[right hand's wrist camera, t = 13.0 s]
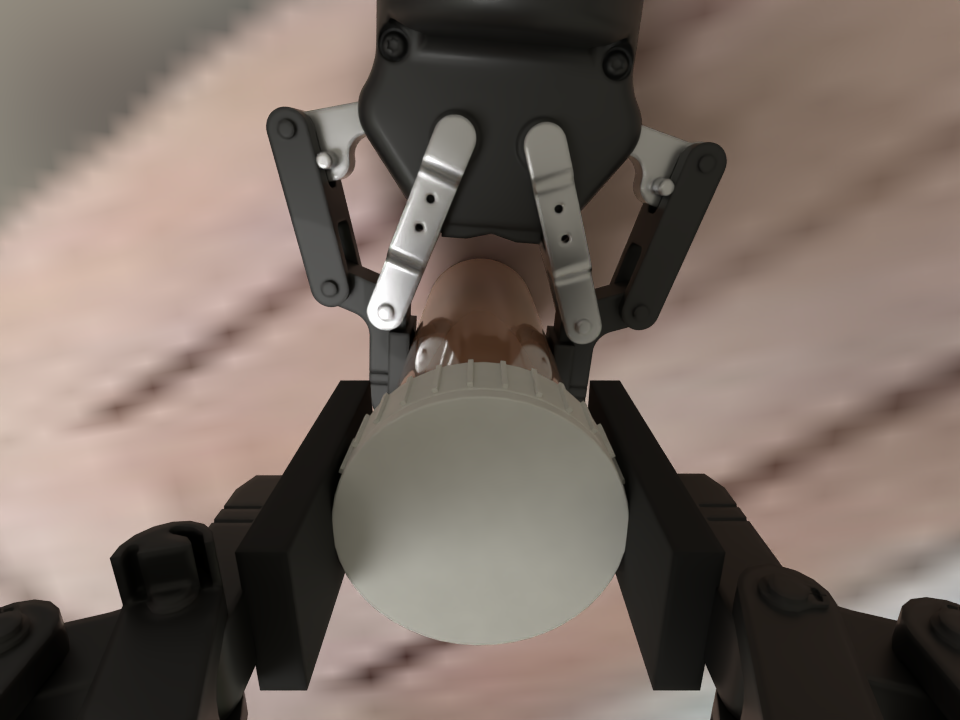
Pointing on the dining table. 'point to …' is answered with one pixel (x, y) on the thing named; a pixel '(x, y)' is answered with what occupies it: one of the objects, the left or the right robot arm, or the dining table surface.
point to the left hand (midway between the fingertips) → (475, 422)
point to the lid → (480, 505)
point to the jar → (480, 322)
